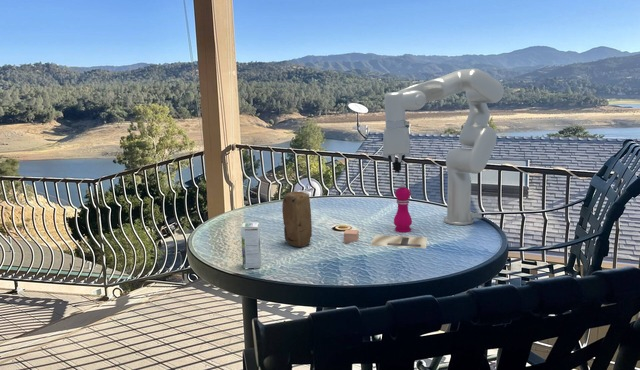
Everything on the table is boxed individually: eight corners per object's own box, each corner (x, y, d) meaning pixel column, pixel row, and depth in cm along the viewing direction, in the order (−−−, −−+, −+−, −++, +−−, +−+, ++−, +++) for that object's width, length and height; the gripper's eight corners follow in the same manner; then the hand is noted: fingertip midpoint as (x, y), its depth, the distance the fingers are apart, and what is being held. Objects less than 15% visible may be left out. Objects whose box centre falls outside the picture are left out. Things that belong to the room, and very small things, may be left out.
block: (314, 244, 178) (312, 193, 174) (298, 249, 173) (296, 196, 169) (296, 238, 186) (294, 189, 182) (281, 243, 181) (278, 192, 177)
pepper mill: (411, 235, 186) (412, 185, 182) (393, 234, 187) (393, 185, 183) (412, 229, 192) (412, 181, 189) (394, 229, 194) (394, 181, 190)
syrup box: (244, 263, 161) (241, 222, 158) (261, 262, 161) (259, 221, 158) (243, 269, 155) (240, 227, 152) (261, 268, 156) (258, 226, 153)
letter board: (427, 239, 180) (427, 237, 179) (425, 250, 167) (425, 248, 167) (375, 236, 185) (375, 234, 185) (370, 247, 172) (370, 245, 172)
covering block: (358, 239, 182) (358, 229, 182) (356, 243, 178) (356, 233, 177) (346, 239, 183) (345, 229, 183) (343, 243, 179) (343, 233, 178)
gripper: (416, 123, 181) (417, 169, 185) (377, 124, 185) (379, 170, 189) (414, 124, 174) (416, 173, 178) (374, 126, 178) (376, 174, 182)
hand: (397, 171), depth 184 cm, fingers closed
